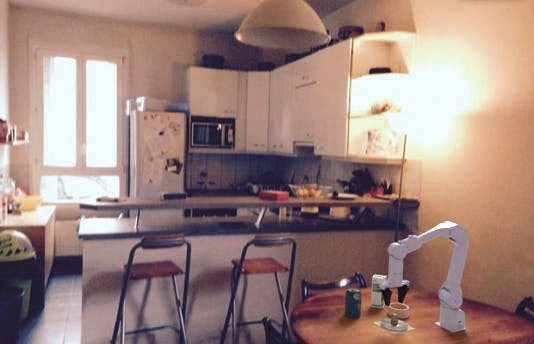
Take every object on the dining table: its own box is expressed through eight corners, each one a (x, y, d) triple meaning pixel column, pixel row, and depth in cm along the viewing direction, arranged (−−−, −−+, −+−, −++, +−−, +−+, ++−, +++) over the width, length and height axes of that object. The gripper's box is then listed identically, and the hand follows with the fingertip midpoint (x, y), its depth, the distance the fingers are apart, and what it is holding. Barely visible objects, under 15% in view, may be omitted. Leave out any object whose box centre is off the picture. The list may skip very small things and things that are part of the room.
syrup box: (370, 307, 202) (371, 276, 201) (373, 303, 207) (374, 273, 207) (382, 309, 199) (384, 278, 199) (385, 305, 205) (387, 275, 204)
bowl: (413, 317, 191) (413, 308, 191) (397, 320, 187) (398, 311, 187) (398, 310, 199) (398, 301, 199) (383, 313, 195) (383, 304, 195)
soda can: (362, 319, 187) (363, 292, 186) (346, 319, 187) (347, 291, 186) (358, 313, 194) (359, 287, 193) (343, 313, 194) (344, 286, 193)
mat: (415, 329, 178) (415, 328, 178) (393, 334, 172) (393, 333, 172) (394, 319, 188) (394, 318, 188) (373, 323, 183) (373, 322, 183)
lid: (413, 328, 178) (414, 317, 178) (393, 333, 173) (394, 321, 172) (394, 318, 188) (395, 308, 187) (374, 322, 183) (375, 311, 182)
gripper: (401, 267, 186) (399, 298, 187) (375, 271, 179) (374, 303, 180) (413, 272, 180) (411, 304, 181) (387, 276, 173) (386, 309, 174)
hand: (393, 304), depth 180 cm, fingers open, 7 cm apart
